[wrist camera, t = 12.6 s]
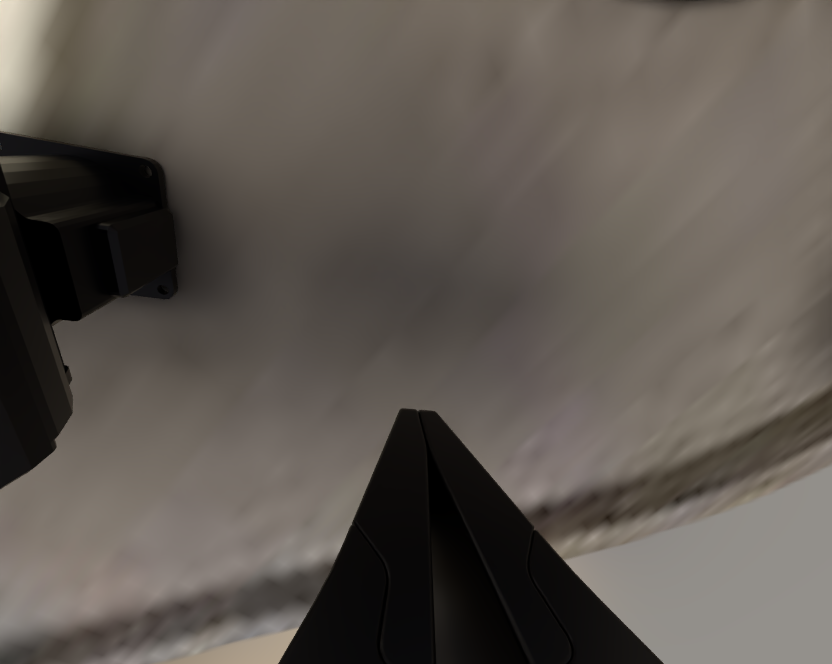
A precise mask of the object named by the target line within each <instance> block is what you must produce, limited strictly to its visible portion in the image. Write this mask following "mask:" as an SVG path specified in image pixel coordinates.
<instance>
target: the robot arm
mask: <svg viewBox="0 0 832 664" xmlns="http://www.w3.org/2000/svg"><path fill="white" fill-rule="evenodd" d="M0 143H1V145H2V150H1V149H0V489H2V488H3V487H5V486H7V485H8V484H10V483H11V482H13V481H15V480H16V479H18V478H20V477H21V476H23V475H24V474H26V473H28V472H29V471H30V470H32V469H33V468H34V467H35V466H37V465H38V464H39V463H40V462H41V461H43V460H44V459H45V458H46V457H47V456H49V455H50V454H51V453H52V452H53V451H54V450H55V449H56V442H55V438H56V437H57V436H58V435H59V434H60V432H61V430H62V429H63V427H64V426H65V424H66V423H67V421H68V420H69V418H70V416H71V415H72V413H73V396H72V392H71V389H70V386H69V384H70V382H71V381H72V376H71V373H70V370H69V367H68V366H66V365H64V363H63V360H62V357H61V353H60V350H59V347H58V344H57V341H56V338H55V334H54V331H53V328H52V326H53V325H55V324H56V323H58V322H60V321H62V320H68V321H79V320H81V319H82V318H84V317H86V316H87V315H89V314H91V313H92V312H94V311H96V310H98V309H99V308H101V307H103V306H104V305H106V304H108V303H109V302H111V301H113V300H114V299H116V298H118V297H123V298H124V297H127V296H129V295H135V296H143V297H151V298H160V299H169V298H171V297H173V296H174V295H175V294H176V293H177V291H178V286H177V279H176V271H175V266H177V265H178V257H177V249H176V241H175V233H174V224H173V216H172V213H171V212H170V211H169V210H168V208H167V201H166V193H165V185H164V177H163V171H162V168H161V167H160V165H159V164H158V163H157V162H156V161H154V160H152V159H149V158H145V157H139V156H134V155H128V154H123V153H117V152H112V151H106V150H101V149H95V148H90V147H85V146H79V145H74V144H68V143H63V142H57V141H52V140H46V139H41V138H35V137H30V136H24V135H19V134H13V133H8V132H3V131H0ZM145 165H146V166H148V167H149V168H150V169H151V172H152V175H151V176H148V175H147V174H146V173H145V171H144V166H145ZM162 285H163V286H166V287H167V288H168V292H167V291H165V290H163V289H162ZM278 664H664V663H663V662H662V661H661V660H660V659H659V658H658V657H657V656H656V655H655V654H654V653H653V652H652V651H651V650H650V649H649V648H648V647H647V646H646V645H645V644H644V643H643V642H642V641H641V640H640V639H639V638H638V637H637V636H636V635H635V634H634V633H633V632H632V631H631V630H630V629H629V628H628V627H627V626H626V625H625V624H624V623H623V622H622V621H621V620H620V619H619V618H618V617H617V616H616V615H615V614H614V613H613V612H612V611H611V610H610V609H609V608H608V607H607V606H606V605H605V604H604V603H603V602H602V601H601V600H600V599H599V598H598V597H597V596H596V595H595V593H594V592H593V591H592V590H591V589H590V588H589V587H588V586H587V585H586V584H585V583H584V582H583V581H582V580H581V579H580V578H579V577H578V576H577V575H576V574H575V573H574V572H573V571H572V569H571V568H570V567H569V566H568V565H567V564H566V563H565V561H564V560H563V559H562V558H561V557H560V556H559V555H558V554H557V552H556V551H555V550H554V549H553V548H552V547H551V546H550V544H549V543H548V542H547V541H546V540H545V539H544V537H543V536H542V535H541V534H540V533H539V532H538V531H537V530H534V526H533V525H532V524H531V522H530V521H529V520H528V519H527V518H526V517H525V515H524V514H523V513H522V512H521V511H520V510H519V508H518V507H517V506H516V505H515V504H514V503H513V501H512V500H511V499H510V498H509V497H508V496H507V494H506V493H505V492H504V491H503V490H502V489H501V487H500V486H499V485H498V484H497V483H496V481H495V480H494V479H493V478H492V477H491V476H490V474H489V473H488V472H487V471H486V470H485V469H484V467H483V466H482V465H481V464H480V463H479V462H478V460H477V459H476V458H475V457H474V456H473V455H472V453H471V452H470V451H469V450H468V449H467V448H466V446H465V445H464V444H463V443H462V442H461V440H460V439H459V438H458V437H457V436H456V435H455V433H454V432H453V431H452V430H451V429H450V428H449V426H448V425H447V424H446V423H445V422H444V421H443V419H442V418H441V417H440V416H439V415H438V414H437V413H436V412H435V411H428V410H419V411H417V410H415V409H404V408H402V409H400V411H399V413H398V415H397V417H396V420H395V422H394V425H393V427H392V429H391V432H390V434H389V436H388V439H387V441H386V444H385V446H384V448H383V451H382V453H381V455H380V458H379V460H378V463H377V465H376V467H375V470H374V472H373V474H372V477H371V479H370V482H369V484H368V486H367V489H366V491H365V493H364V496H363V498H362V501H361V503H360V505H359V508H358V510H357V512H356V515H355V517H354V520H353V522H352V525H351V526H350V528H349V531H348V533H347V536H346V538H345V540H344V543H343V545H342V547H341V549H340V552H339V554H338V556H337V558H336V560H335V562H334V564H333V567H332V569H331V571H330V573H329V575H328V577H327V579H326V580H325V582H324V584H323V586H322V588H321V590H320V592H319V593H318V595H317V597H316V599H315V601H314V603H313V605H312V606H311V608H310V610H309V612H308V613H307V615H306V617H305V619H304V620H303V622H302V624H301V625H300V627H299V629H298V631H297V633H296V634H295V636H294V638H293V639H292V641H291V643H290V644H289V646H288V648H287V650H286V651H285V653H284V655H283V656H282V658H281V660H280V662H279V663H278Z"/></svg>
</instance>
